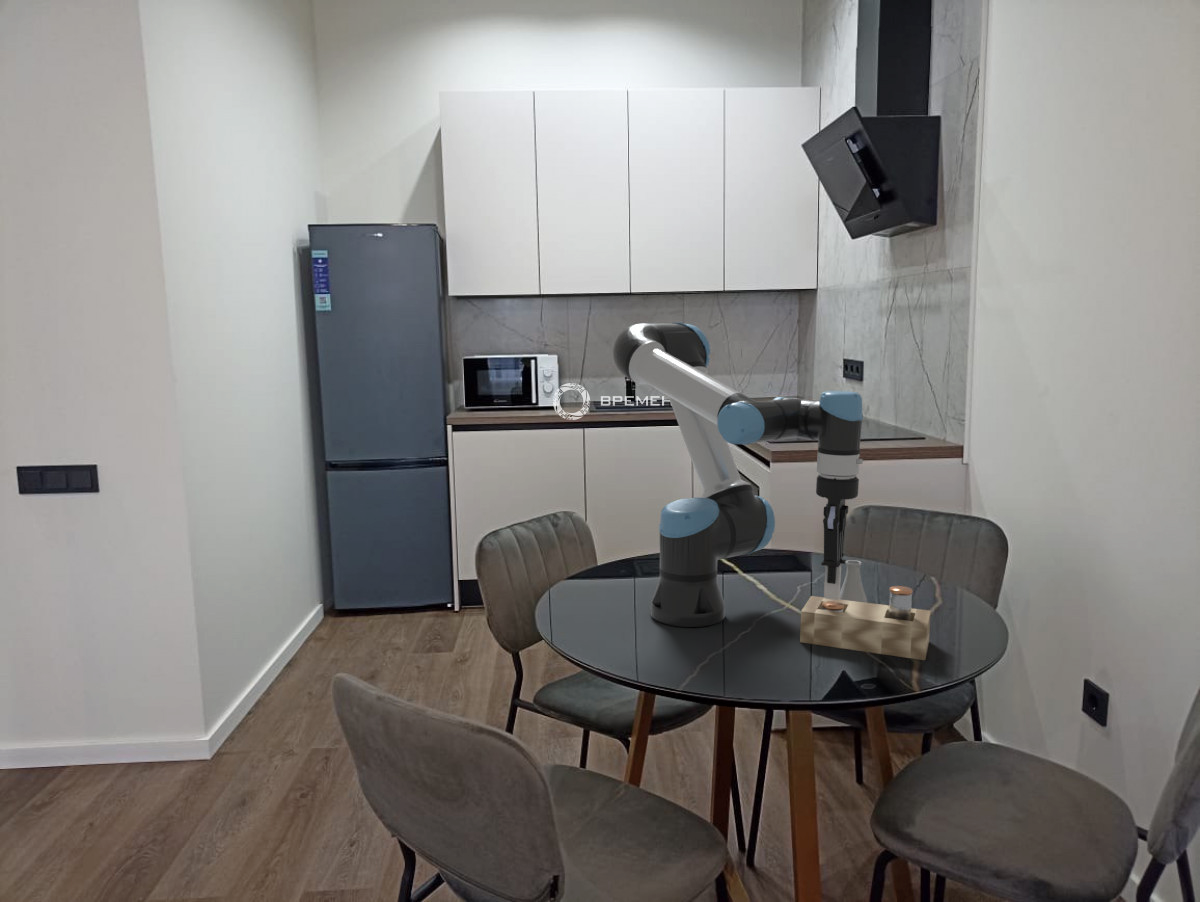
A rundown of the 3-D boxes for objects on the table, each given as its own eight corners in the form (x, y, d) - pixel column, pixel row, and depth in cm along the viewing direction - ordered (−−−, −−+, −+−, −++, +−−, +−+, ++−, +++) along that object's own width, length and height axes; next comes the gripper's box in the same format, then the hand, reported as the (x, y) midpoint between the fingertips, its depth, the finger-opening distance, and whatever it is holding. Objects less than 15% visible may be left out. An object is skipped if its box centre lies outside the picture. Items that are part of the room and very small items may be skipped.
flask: (871, 615, 177) (873, 567, 176) (834, 612, 179) (836, 565, 177) (867, 603, 184) (870, 558, 183) (832, 601, 186) (834, 556, 184)
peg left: (819, 635, 164) (820, 606, 163) (823, 629, 167) (824, 600, 166) (841, 638, 162) (842, 609, 161) (844, 632, 166) (845, 602, 165)
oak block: (800, 642, 162) (801, 611, 161) (810, 625, 171) (811, 595, 170) (925, 660, 153) (927, 627, 152) (928, 641, 162) (930, 610, 161)
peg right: (886, 621, 158) (888, 590, 157) (889, 614, 162) (890, 584, 161) (910, 624, 156) (911, 593, 156) (912, 617, 160) (913, 587, 159)
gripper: (853, 483, 153) (846, 611, 156) (863, 471, 164) (857, 590, 168) (810, 479, 156) (804, 605, 159) (823, 468, 167) (817, 585, 171)
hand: (831, 597), depth 164 cm, fingers closed
